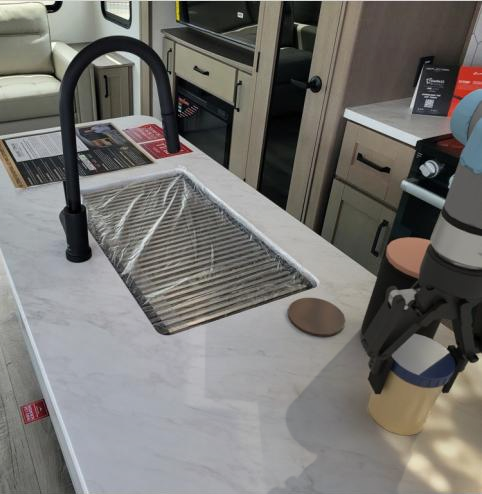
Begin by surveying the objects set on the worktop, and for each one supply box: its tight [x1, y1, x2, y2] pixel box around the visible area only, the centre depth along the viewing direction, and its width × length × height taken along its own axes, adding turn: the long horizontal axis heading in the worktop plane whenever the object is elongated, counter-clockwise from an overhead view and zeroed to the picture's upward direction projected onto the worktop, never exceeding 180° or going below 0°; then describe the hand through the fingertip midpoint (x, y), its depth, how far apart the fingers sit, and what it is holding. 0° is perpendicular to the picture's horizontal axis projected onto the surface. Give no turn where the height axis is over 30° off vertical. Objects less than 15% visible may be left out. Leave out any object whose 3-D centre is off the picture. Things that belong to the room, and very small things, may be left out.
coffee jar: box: [360, 236, 443, 340], centre depth 77 cm, size 11×11×18 cm
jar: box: [367, 369, 444, 436], centre depth 67 cm, size 8×8×12 cm
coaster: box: [287, 297, 346, 338], centre depth 87 cm, size 10×10×1 cm
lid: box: [391, 334, 455, 388], centre depth 64 cm, size 8×8×2 cm
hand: (407, 385), depth 66 cm, fingers open, 9 cm apart
